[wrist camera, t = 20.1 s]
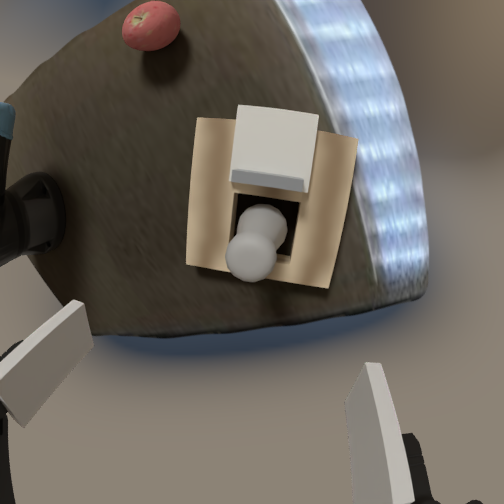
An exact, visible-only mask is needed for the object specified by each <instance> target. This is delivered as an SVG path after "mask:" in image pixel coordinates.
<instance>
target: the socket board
mask: <svg viewBox="0 0 504 504" xmlns="http://www.w3.org/2000/svg"><path fill="white" fill-rule="evenodd" d="M235 125H236V120H233V119H217V118H197V125H196V133H195V142H194V151H193V161H192V172H191V183H190V196H189V211H188V228H187V250H186V264H188V265H193V266H199V267H204V268H210V269H215V270H221V271H226V272H230V270H229V269H228V268H227V264H226V260H225V254H226V250H227V246H228V244H229V243H230V241H231V240H232V239H233V238H234V230H235V220H236V211H237V202H238V194H239V193H242V194H249V195H256V196H263V197H270V198H276V199H282V200H289V201H295V202H299V208H298V214H297V220H296V225H295V231H294V237H293V243H292V248H291V254H290V256H287V255H281V254H276V255H277V259H276V263H275V266H274V269H273V271H272V272H271V273H270V274H269V275H268V276H267V277H266V279H272V280H278V281H284V282H290V283H297V284H303V285H309V286H315V287H322V288H329V284H330V280H331V276H332V272H333V268H334V264H335V260H336V256H337V252H338V247H339V243H340V239H341V234H342V230H343V225H344V220H345V215H346V210H347V205H348V200H349V195H350V189H351V184H352V178H353V172H354V166H355V159H356V153H357V146H358V139H356V138H352V137H348V136H343V135H338V134H333V133H329V132H323V131H318V130H317V134H316V141H315V148H314V155H313V162H312V169H311V175H310V182H309V188H308V193H306V192H298V191H291V190H285V189H279V188H272V187H266V186H259V185H251V184H244V183H236V182H231V181H229V175H230V167H231V158H232V150H233V141H234V133H235Z"/></svg>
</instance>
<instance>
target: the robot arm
mask: <svg viewBox="0 0 504 504" xmlns="http://www.w3.org/2000/svg"><path fill="white" fill-rule="evenodd" d="M14 121H15V109H14V107H13V106H12V105H10V104H7V103H2V102H0V267H1V266H2V265H4V264H6V263H8V262H9V261H11V260H13V259H15V258H17V257H19V256H21V255H35V254H45V253H48V252H50V251H51V250H53V249H55V248H56V247H58V245H59V244H60V243H61V241H62V238H63V235H64V231H65V208H64V203H63V199H62V196H61V193H60V190H59V188H58V186H57V184H56V183H55V181H54V180H53V179H52V178H51V177H50V176H49V175H48V174H46V173H44V172H35V173H31V174H28V175H26V176H24V177H23V178H21V179H20V180H19V181H17V182H16V183H15V184H13V185H12V186H10V187H9V188H8V189H6V190H5V187H6V175H7V166H8V158H9V151H10V145H11V140H12V139H13V135H12V134H13V127H14ZM93 347H94V343H93V340H92V336H91V332H90V327H89V323H88V319H87V314H86V310H85V305H84V303H82V302H79V301H76V300H72V301H71V302H70V303H68V304H67V305H66V306H65V307H63V308H62V309H61V310H60V311H59V312H57V313H56V314H55V315H54V316H52V317H51V318H50V319H49V320H48V321H46V322H45V323H44V324H43V325H42V326H40V327H39V328H38V329H37V330H36V331H34V332H33V333H32V334H31V335H30V336H29V337H27V338H26V339H25V340H22V341H19V342H17V343H16V344H14V345H12V346H11V347H10V348H9V349H8V350H7V352H5V353H4V354H3V355H2V357H1V356H0V504H15V499H14V493H13V487H12V481H11V473H10V463H9V450H8V418H7V415H6V413H7V412H9V414H10V415H11V416H12V418H13V419H14V420H15V421H16V422H17V423H18V424H20V425H21V426H22V427H23V428H25V426H26V425H27V424H28V422H29V421H30V420H31V419H32V417H33V416H34V415H35V414H36V413H37V411H38V410H39V409H40V408H41V406H42V405H43V404H44V403H45V402H46V400H47V399H48V398H49V397H50V395H51V394H52V393H53V392H54V391H55V389H57V387H58V386H59V385H60V384H61V383H62V381H63V380H64V379H65V378H66V377H67V376H68V374H69V373H70V372H71V371H72V370H73V369H74V368H75V367H76V365H77V364H78V363H79V362H80V361H81V360H82V359H83V358H84V357H85V356H86V354H87V353H88V352H89V351H90V350H91V349H92V348H93ZM344 404H345V412H346V420H347V428H348V438H349V449H350V461H351V474H352V493H353V504H440V503H439V502H438V501H435V500H434V499H433V497H432V494H431V490H430V485H429V480H428V476H427V471H426V467H425V465H424V459H423V456H422V451H421V448H420V444H419V442H418V440H417V439H416V438H415V436H414V435H413V433H408V434H401V431H400V427H399V423H398V420H397V415H396V412H395V408H394V405H393V402H392V398H391V394H390V391H389V388H388V385H387V381H386V378H385V375H384V372H383V369H382V366H381V363H368V362H367V363H366V362H365V364H364V366H363V368H362V370H361V372H360V374H359V376H358V378H357V380H356V382H355V384H354V386H353V388H352V389H351V391H350V393H349V395H348V397H347V398H346V400H345V402H344ZM467 504H483V503H482V502H481V501H478V500H472V501H470V502H468V503H467Z"/></svg>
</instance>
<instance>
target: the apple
mask: <svg viewBox="0 0 504 504" xmlns="http://www.w3.org/2000/svg"><path fill="white" fill-rule="evenodd" d="M179 30H180V18H179V15H178V13H177V11H176V10H175V9H174V8H173V7H172V6H171V5H169V4H167V3H165V2H161V1H151V2H147V3H144V4H142V5H140V6H138V7H137V8H135V9H134V10H133V11H132V12H131V13H130V14H129V15H128V16H127V18H126V19H125V21H124V24H123V28H122V35H123V39H124V41H125V43H126V44H127V45H128V46H130V47H131V48H133V49H137V50H142V51H154V50H158V49H161V48H164V47H165V46H167V45H169V44H170V43H171V42H172V41H173V40H174V39H175V38H176V36H177V35H178V33H179Z"/></svg>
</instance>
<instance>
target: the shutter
mask: <svg viewBox="0 0 504 504" xmlns="http://www.w3.org/2000/svg"><path fill="white" fill-rule="evenodd" d="M318 118H319V115H315V114H310V113H304V112H297V111H291V110H283V109H276V108H267V107H257V106H246V105H238V110H237V118H236V125H235V133H234V141H233V150H232V158H231V167H230V175H229V181H231V182H236V183H244V184H251V185H259V186H266V187H272V188H279V189H285V190H291V191H298V192H306V193H308V188H309V182H310V175H311V169H312V162H313V155H314V148H315V141H316V134H317V126H318Z"/></svg>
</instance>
